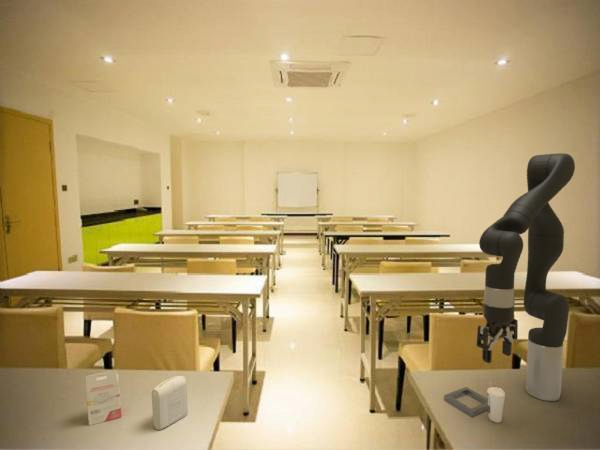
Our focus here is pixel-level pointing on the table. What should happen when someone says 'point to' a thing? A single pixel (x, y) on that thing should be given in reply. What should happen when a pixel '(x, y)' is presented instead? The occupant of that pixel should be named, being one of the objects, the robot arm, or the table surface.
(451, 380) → the table surface
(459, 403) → the grey square frame
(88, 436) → the table surface
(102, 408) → the ink cartridge box
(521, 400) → the table surface
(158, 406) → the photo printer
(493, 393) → the milkshake
